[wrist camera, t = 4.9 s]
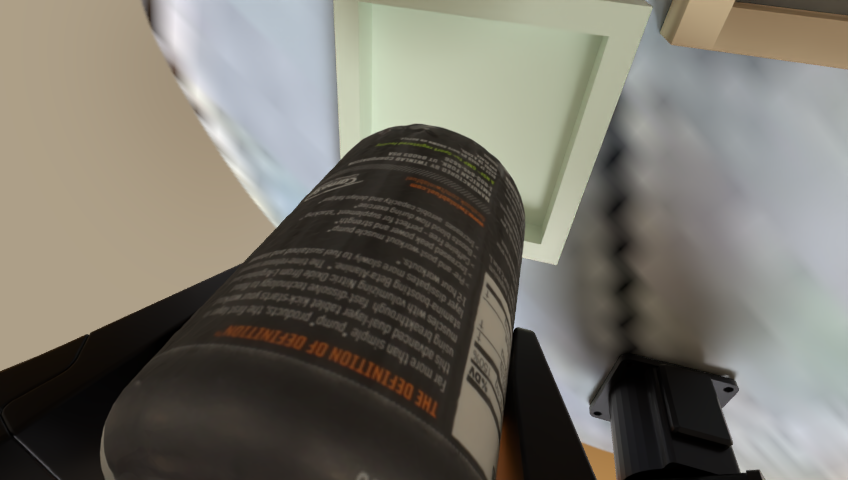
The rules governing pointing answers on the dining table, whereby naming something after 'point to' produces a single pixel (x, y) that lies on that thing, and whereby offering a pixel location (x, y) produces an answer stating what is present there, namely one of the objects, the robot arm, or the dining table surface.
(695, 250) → the dining table surface
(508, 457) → the robot arm
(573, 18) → the tray
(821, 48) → the socket collar
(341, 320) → the pill bottle
